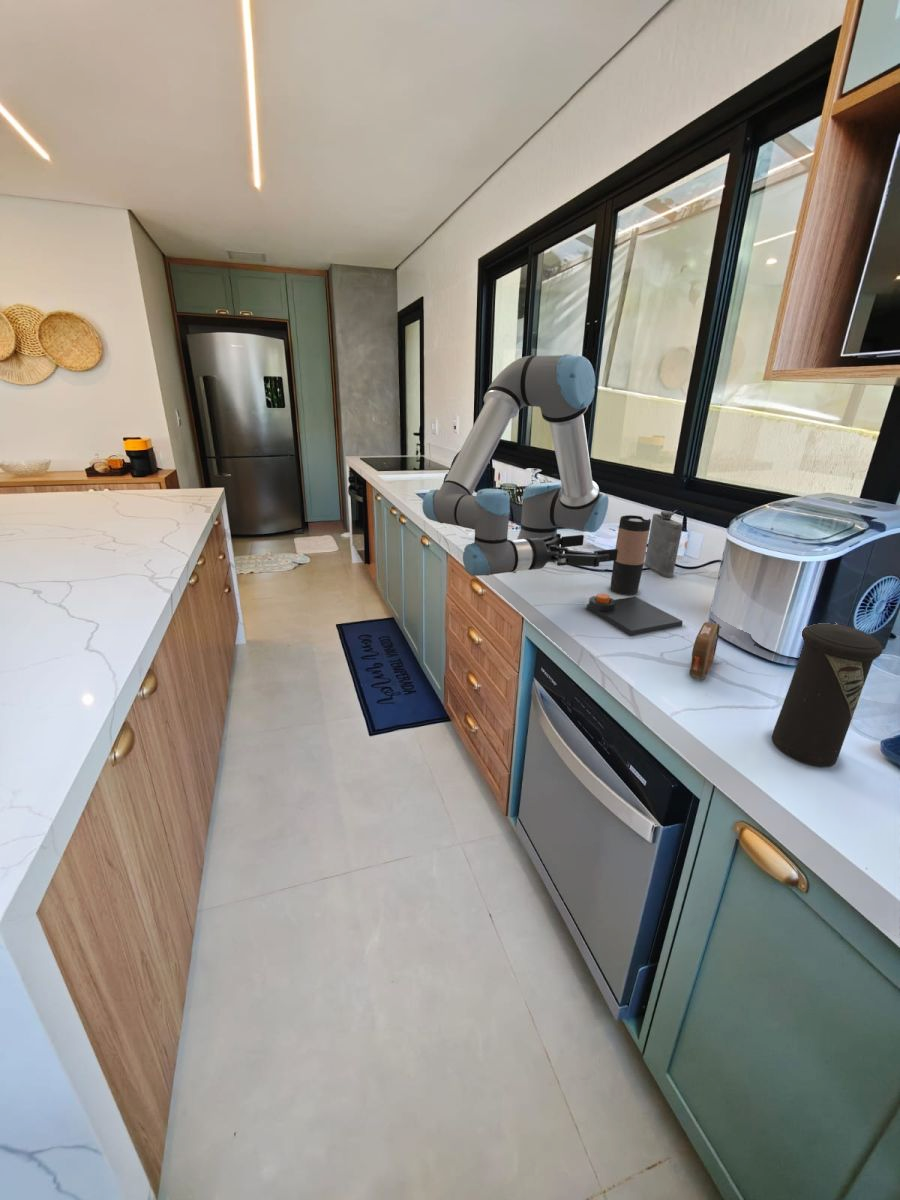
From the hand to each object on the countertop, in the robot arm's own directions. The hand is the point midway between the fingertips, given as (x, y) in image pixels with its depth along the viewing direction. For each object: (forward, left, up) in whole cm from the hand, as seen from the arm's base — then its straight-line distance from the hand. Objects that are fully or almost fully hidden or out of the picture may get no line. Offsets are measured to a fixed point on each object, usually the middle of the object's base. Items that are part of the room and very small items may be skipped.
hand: (598, 547), depth 128 cm
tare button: (+9, -5, -11) cm, 15 cm away
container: (+63, -8, -14) cm, 65 cm away
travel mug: (0, +11, -14) cm, 17 cm away
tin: (+39, -3, -14) cm, 41 cm away
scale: (+15, +1, -13) cm, 20 cm away
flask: (-11, +33, -14) cm, 37 cm away
